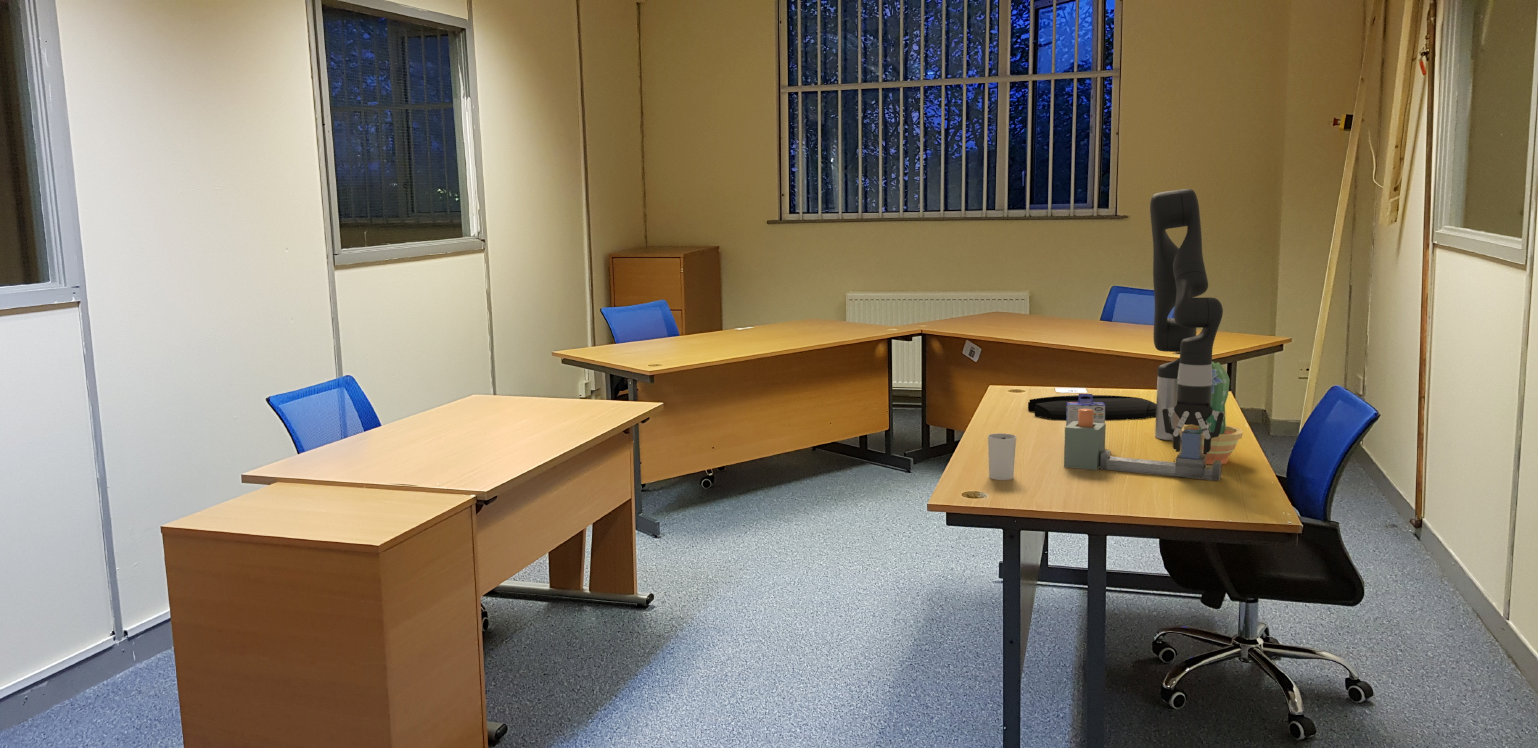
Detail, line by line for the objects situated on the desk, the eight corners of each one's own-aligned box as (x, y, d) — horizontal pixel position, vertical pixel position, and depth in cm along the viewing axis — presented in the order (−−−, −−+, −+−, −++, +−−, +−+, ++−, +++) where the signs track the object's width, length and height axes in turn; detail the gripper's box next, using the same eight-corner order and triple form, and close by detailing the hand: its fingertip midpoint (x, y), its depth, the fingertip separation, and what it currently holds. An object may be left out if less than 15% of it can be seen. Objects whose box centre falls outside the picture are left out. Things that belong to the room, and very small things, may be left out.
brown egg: (1079, 433, 266) (1080, 408, 265) (1094, 434, 264) (1094, 409, 263) (1076, 435, 263) (1076, 410, 262) (1091, 437, 261) (1091, 411, 260)
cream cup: (984, 473, 257) (985, 433, 256) (1012, 473, 257) (1013, 433, 255) (989, 480, 250) (990, 439, 249) (1018, 480, 250) (1018, 439, 249)
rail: (1103, 465, 263) (1104, 449, 263) (1220, 477, 251) (1221, 460, 250) (1100, 469, 260) (1100, 453, 259) (1218, 480, 247) (1219, 464, 247)
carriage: (1179, 468, 256) (1180, 427, 255) (1205, 471, 253) (1207, 430, 252) (1175, 474, 250) (1176, 433, 249) (1202, 477, 248) (1204, 435, 246)
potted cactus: (1162, 457, 271) (1166, 360, 268) (1208, 451, 277) (1212, 356, 274) (1209, 470, 257) (1214, 368, 254) (1256, 463, 263) (1261, 364, 260)
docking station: (1175, 420, 319) (1176, 404, 319) (1040, 422, 320) (1041, 406, 319) (1147, 406, 344) (1147, 390, 343) (1022, 407, 345) (1022, 392, 344)
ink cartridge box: (1102, 446, 285) (1104, 393, 283) (1105, 450, 279) (1106, 396, 277) (1064, 445, 287) (1066, 392, 285) (1066, 449, 281) (1067, 396, 279)
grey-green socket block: (1072, 459, 270) (1073, 420, 269) (1104, 462, 267) (1105, 423, 265) (1063, 466, 263) (1064, 427, 261) (1096, 470, 259) (1098, 430, 257)
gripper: (1229, 382, 248) (1225, 452, 251) (1164, 378, 255) (1161, 446, 258) (1226, 386, 242) (1222, 458, 244) (1159, 382, 249) (1157, 453, 251)
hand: (1191, 452), depth 251 cm, fingers open, 5 cm apart
